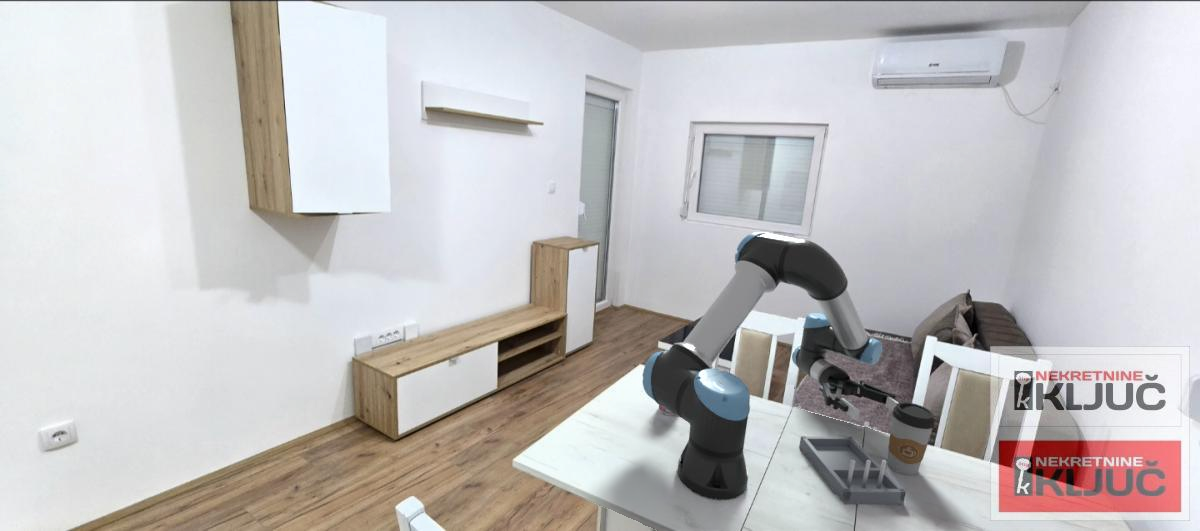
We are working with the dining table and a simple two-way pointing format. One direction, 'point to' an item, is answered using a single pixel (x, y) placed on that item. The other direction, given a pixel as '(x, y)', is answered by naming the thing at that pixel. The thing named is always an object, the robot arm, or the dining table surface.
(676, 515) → the dining table surface
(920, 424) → the coffee cup
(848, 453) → the dish rack
